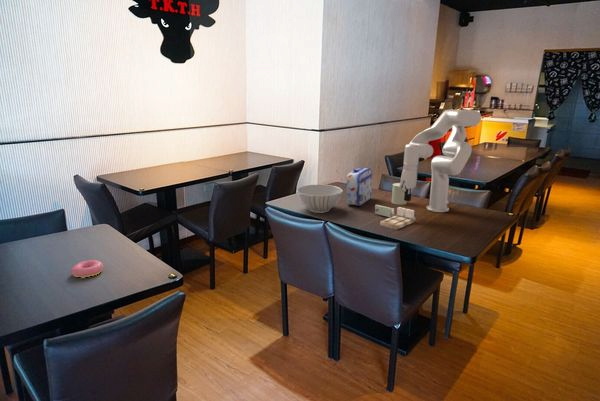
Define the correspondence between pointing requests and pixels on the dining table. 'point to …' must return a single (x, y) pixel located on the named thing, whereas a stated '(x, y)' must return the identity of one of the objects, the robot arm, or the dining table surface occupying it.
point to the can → (398, 195)
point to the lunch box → (359, 186)
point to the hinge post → (392, 212)
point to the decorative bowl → (319, 197)
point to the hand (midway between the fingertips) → (407, 200)
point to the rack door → (383, 210)
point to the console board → (397, 222)
